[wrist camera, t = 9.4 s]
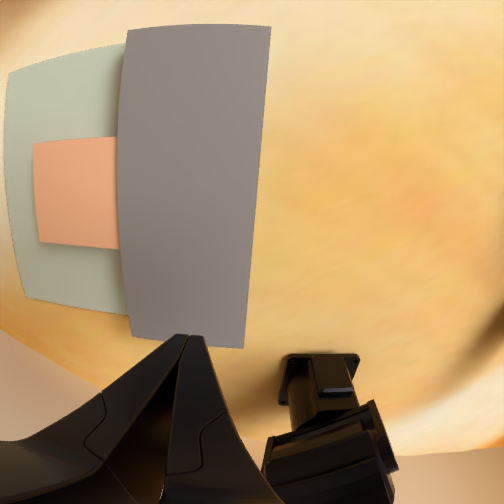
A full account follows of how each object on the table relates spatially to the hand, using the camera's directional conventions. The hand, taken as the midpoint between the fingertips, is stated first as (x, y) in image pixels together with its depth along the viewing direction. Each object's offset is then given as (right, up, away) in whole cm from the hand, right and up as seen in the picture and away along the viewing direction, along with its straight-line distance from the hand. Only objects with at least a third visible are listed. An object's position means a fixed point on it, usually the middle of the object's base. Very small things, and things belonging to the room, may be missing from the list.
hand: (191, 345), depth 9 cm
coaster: (-10, +7, +10) cm, 15 cm away
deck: (-2, +7, +10) cm, 12 cm away
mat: (-12, +8, +10) cm, 18 cm away
